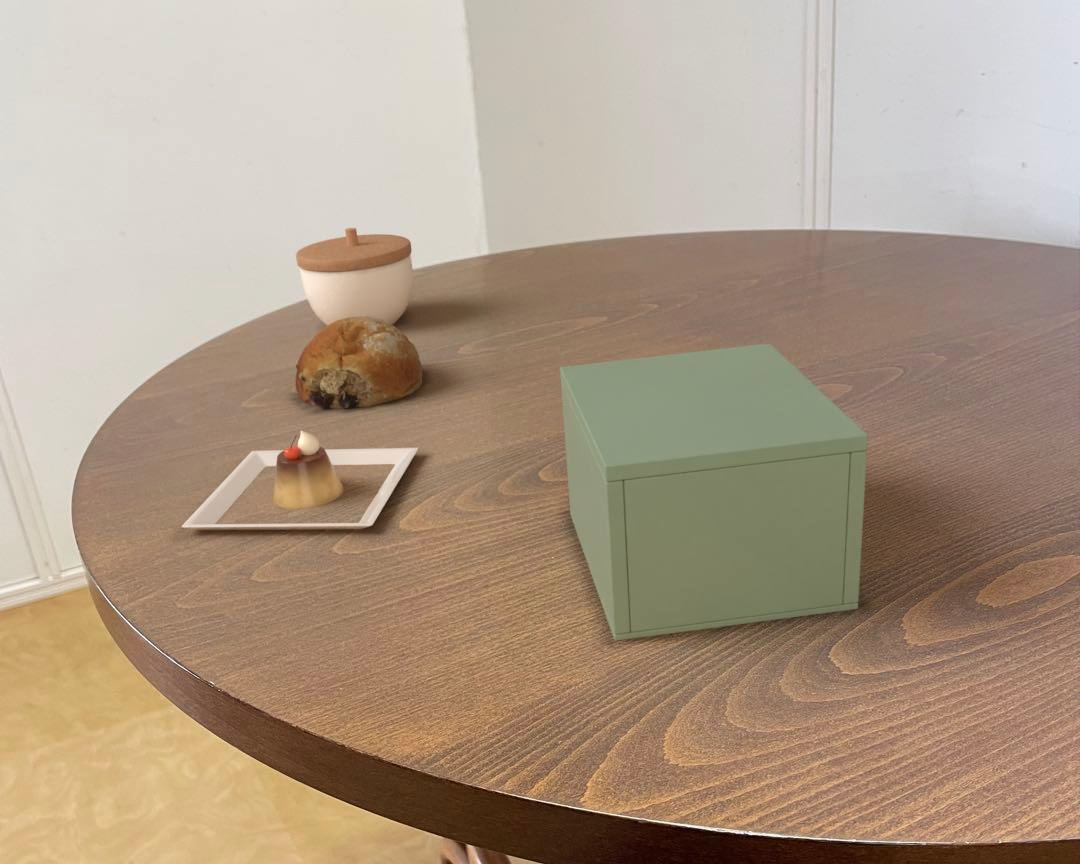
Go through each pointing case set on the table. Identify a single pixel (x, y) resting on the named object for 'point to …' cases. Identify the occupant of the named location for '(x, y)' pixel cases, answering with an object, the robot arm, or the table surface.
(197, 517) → the dessert
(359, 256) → the trinket box
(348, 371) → the bread roll
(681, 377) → the cabinet
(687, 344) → the table surface
